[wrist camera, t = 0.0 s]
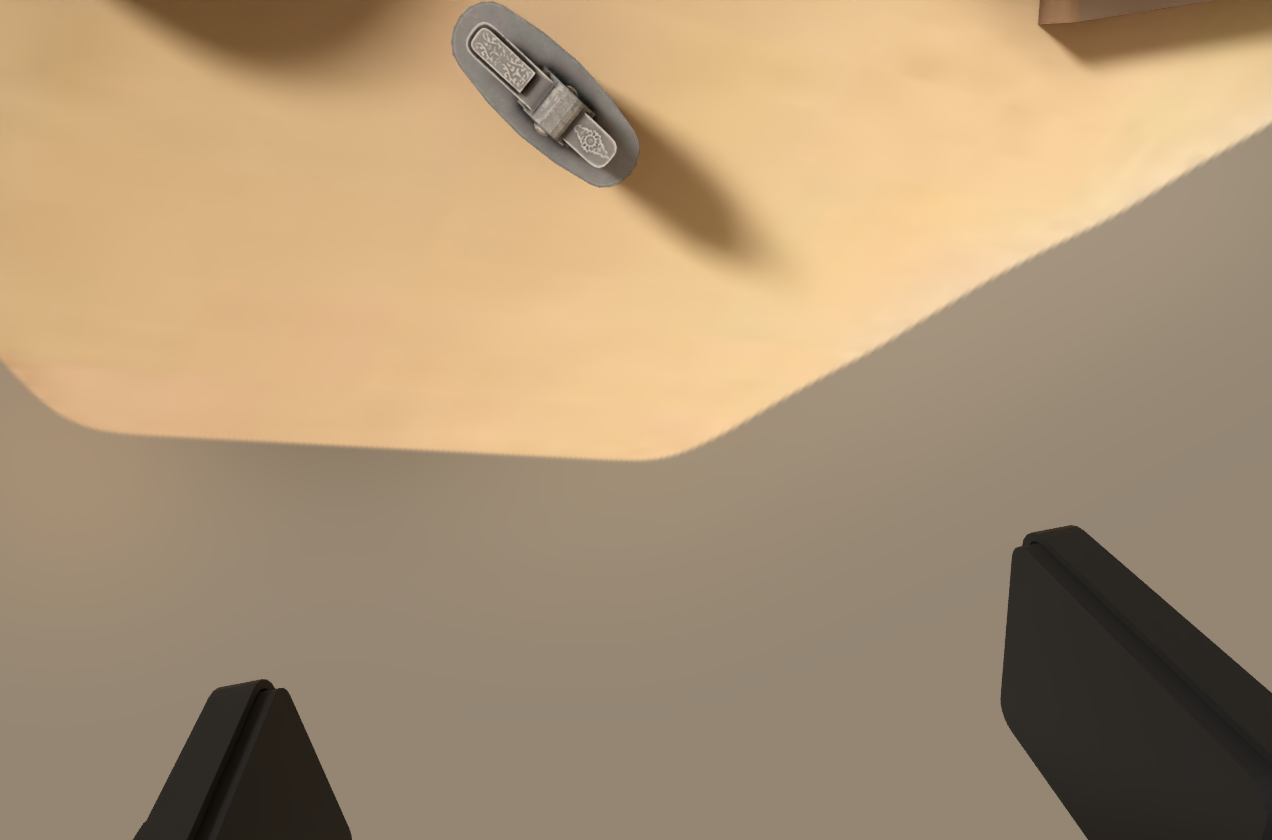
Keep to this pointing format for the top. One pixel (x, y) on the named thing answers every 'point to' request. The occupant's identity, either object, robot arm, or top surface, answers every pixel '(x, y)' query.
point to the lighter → (544, 94)
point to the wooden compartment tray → (1099, 8)
